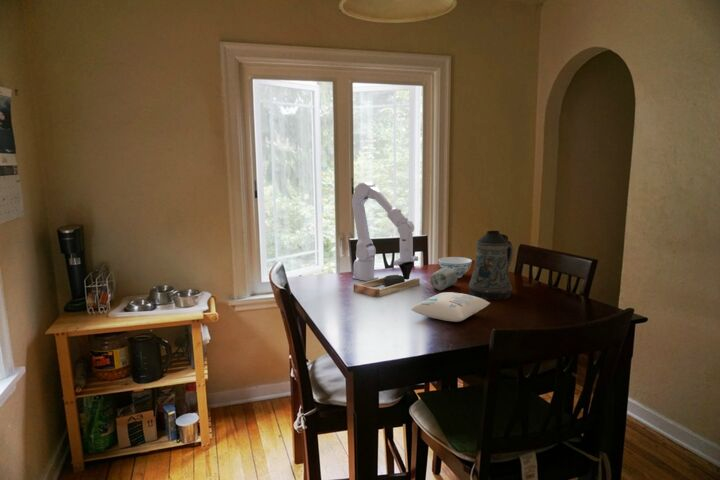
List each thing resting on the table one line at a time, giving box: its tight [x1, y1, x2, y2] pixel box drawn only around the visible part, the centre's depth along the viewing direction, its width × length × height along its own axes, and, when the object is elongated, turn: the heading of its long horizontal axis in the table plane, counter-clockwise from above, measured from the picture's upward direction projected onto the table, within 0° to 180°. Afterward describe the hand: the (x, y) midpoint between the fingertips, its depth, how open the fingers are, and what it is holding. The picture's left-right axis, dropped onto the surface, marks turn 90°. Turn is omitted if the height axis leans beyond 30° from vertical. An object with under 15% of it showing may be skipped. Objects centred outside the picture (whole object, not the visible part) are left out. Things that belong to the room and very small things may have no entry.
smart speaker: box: [383, 274, 406, 287], centre depth 196 cm, size 9×9×4 cm
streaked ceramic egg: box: [430, 268, 458, 291], centre depth 190 cm, size 14×10×10 cm
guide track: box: [352, 273, 421, 298], centre depth 192 cm, size 13×27×3 cm, turn 134°
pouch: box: [410, 291, 491, 323], centre depth 152 cm, size 8×19×20 cm
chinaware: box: [438, 256, 473, 279], centre depth 209 cm, size 15×15×8 cm
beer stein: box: [468, 230, 514, 301], centre depth 179 cm, size 16×19×25 cm
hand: (406, 279), depth 201 cm, fingers closed
